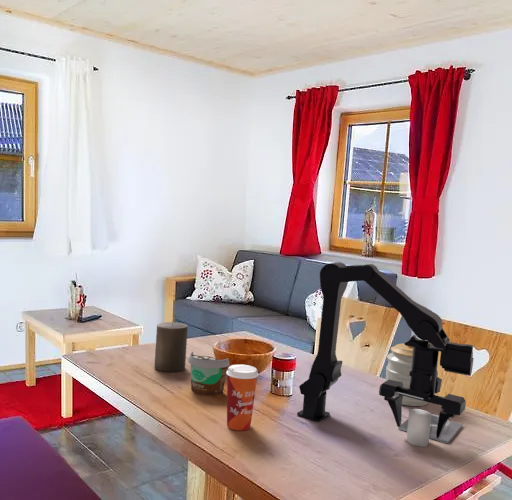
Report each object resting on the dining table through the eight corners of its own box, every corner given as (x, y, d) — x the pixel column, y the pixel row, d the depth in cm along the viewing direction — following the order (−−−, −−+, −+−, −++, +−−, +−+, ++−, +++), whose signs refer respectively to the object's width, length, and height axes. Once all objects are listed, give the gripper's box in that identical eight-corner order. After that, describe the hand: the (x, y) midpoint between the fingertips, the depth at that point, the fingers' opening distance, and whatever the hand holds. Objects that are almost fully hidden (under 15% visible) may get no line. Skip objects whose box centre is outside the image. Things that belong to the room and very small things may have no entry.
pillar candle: (182, 373, 165) (185, 325, 164) (151, 370, 165) (154, 322, 164) (187, 364, 175) (190, 319, 174) (157, 362, 175) (160, 316, 174)
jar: (437, 400, 157) (443, 341, 155) (416, 410, 147) (422, 347, 146) (396, 388, 165) (402, 331, 164) (375, 397, 156) (380, 337, 155)
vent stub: (424, 448, 123) (427, 418, 122) (403, 442, 126) (406, 412, 125) (432, 440, 128) (434, 411, 127) (411, 434, 131) (414, 406, 130)
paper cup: (230, 434, 123) (235, 374, 122) (217, 421, 130) (221, 364, 129) (260, 430, 127) (265, 371, 126) (246, 418, 133) (250, 362, 132)
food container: (178, 391, 149) (180, 356, 148) (189, 385, 155) (191, 351, 154) (218, 400, 145) (220, 363, 144) (227, 393, 150) (230, 358, 150)
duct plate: (448, 443, 126) (448, 435, 126) (398, 429, 133) (399, 421, 133) (462, 426, 138) (463, 418, 138) (416, 413, 145) (416, 406, 144)
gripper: (474, 368, 127) (467, 433, 128) (397, 352, 137) (391, 412, 138) (462, 379, 117) (455, 448, 119) (381, 361, 128) (375, 424, 129)
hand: (418, 432), depth 126 cm, fingers open, 9 cm apart
